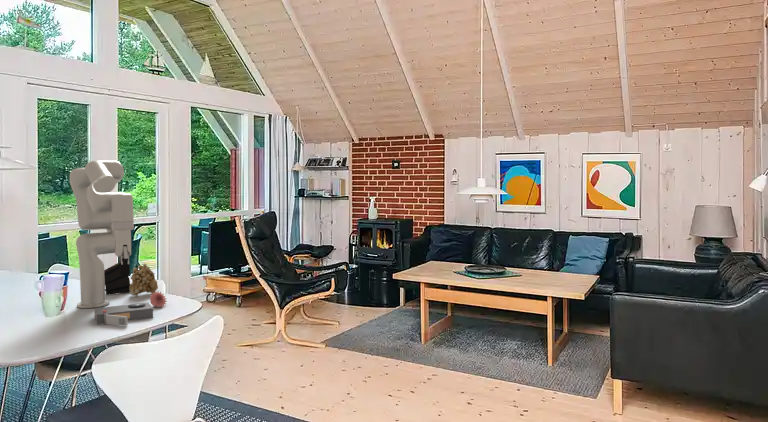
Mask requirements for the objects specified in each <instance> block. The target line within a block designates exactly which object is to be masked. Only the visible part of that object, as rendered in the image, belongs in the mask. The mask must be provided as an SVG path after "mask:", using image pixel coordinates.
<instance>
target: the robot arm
mask: <svg viewBox="0 0 768 422" xmlns="http://www.w3.org/2000/svg"><path fill="white" fill-rule="evenodd" d="M124 175H125V170H124V166H123V165H122V163H121V162H120V161H118V160H97V159H96V160H91V161H88V162H87V163H86V165H85V167H77V168H74V169H72V170H71V171H70V173H69V184H70V187H71V190H72V192H73V194H74V197H75V201H76V202H75V203H76V212H77V222H78V226H79V228H80V229H81V230H84V231H96V230H97V231H98V230H106V232H91V233H90V232H89V233H84V234H83V233H82V234H81V235H79V236H78V237H77V238H76V240H75V245H76V246H75V247H76V251H77V255H78V262H79V280H80V281H79V284H80V285H79V286H80V287H79V288H80V302H78V303H76V304H77V305H76V307H77V308H79V309H94V308H102V307H107V306H108V305H109V304H110V300H109V299H106V291H105V289H106V288H105V276H104V270H105V265H104V262H103V261H102V260H101V258H100V257H98V256H99V255H106V254H107V255H108V254H114V255H115V256H116V257H118V258H119V262H118V263H119V273H120V274H121V275H128V276H130V275H131V270H130V268H131V267H130V266H131V264H130V256H131V255H132V234H131V233H132V231H133V230H135V222H134V221H135V220H134V199H133V194H131V193H127V192H120V191H119V192H112V191H113V190H114V189H115V188H116V185H117V184H118V183H119V182H121V181H122V179H123V178H124Z"/></svg>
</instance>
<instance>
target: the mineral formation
mask: <svg viewBox="0 0 768 422" xmlns="http://www.w3.org/2000/svg"><path fill="white" fill-rule="evenodd" d="M155 277H156V276H155V273H154V271H152V269H150V267H149V266H148V265H147V264H146V263H144V264H143V265H138V266H137V267H134V268H133V269H132V274H131V276H130V280H132V282H131V283H130V288H129V289H130V292H129V295H131V296H134V297H136V296H138V295H139V294H142V293H149V294H153V293H152V292H154V293H155V291H156V292H157V291H158V289H159V285H158V281H157V280H156V279H155Z"/></svg>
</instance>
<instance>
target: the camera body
mask: <svg viewBox="0 0 768 422" xmlns="http://www.w3.org/2000/svg"><path fill="white" fill-rule="evenodd" d="M93 310H94V319H95V323H96V325H103V324H104V314H107V315H117V316H127V321H136V320H143V319H152V318H154V308H153V305H152V304H151V303H150V302H148V301H147V302H139V303H137V302H136V303H131V304H121V305H112V306H102V307H96V308H93ZM104 325H105V324H104Z"/></svg>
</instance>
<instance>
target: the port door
mask: <svg viewBox="0 0 768 422" xmlns="http://www.w3.org/2000/svg"><path fill="white" fill-rule="evenodd" d="M128 324H129V323H128V321H127V316H117V315H107V314H104V325H111V326H112V325H114V326H125V327H127V326H129V325H128Z"/></svg>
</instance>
